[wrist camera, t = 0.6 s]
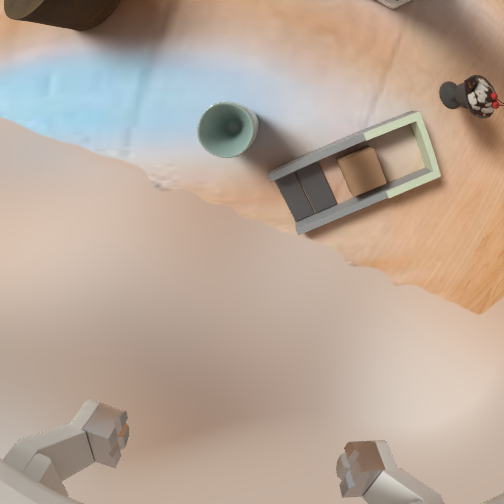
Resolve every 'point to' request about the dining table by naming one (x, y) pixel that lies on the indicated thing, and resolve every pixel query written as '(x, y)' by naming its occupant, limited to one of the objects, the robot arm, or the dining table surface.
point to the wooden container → (61, 12)
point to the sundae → (471, 96)
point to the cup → (227, 129)
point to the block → (361, 170)
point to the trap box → (320, 189)
